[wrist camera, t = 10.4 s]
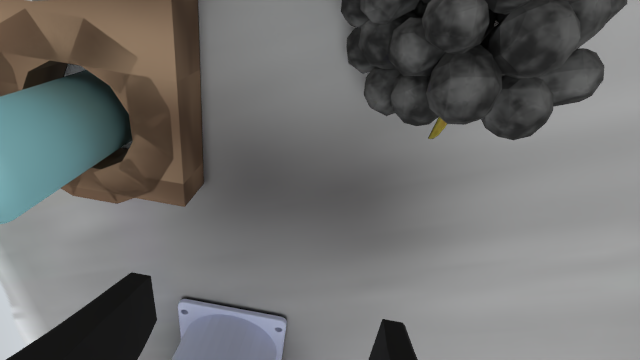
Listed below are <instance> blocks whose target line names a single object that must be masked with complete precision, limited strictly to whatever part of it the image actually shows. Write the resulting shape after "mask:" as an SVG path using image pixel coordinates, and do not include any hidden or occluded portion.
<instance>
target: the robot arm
mask: <svg viewBox="0 0 640 360" xmlns="http://www.w3.org/2000/svg"><path fill="white" fill-rule="evenodd" d="M178 314H179V324H180V335H181V342H180V344H179V346H178V347H177V349H176V351H175V353H174V355H173V357H172V359H171V360H282V354H283V347H284V340H285V332H286V325H287V321H286V319H285V318H283V317H280V316H275V315H270V314H264V313H259V312H254V311H248V310H243V309H238V308H232V307H227V306H222V305H216V304H211V303H205V302H200V301H195V300H189V299H181V300H180V302H179V303H178ZM156 321H157V317H156V310H155V303H154V296H153V289H152V282H151V276H148V275H142V274H137V273H130V274H129V275H127V276H126V277H124V278H123V279H122V280H120V281H119V282H117V283H116V284H115V285H113V286H112V287H111V288H109V289H108V290H107V291H105V292H104V293H102V294H101V295H100V296H98V297H97V298H96V299H94V300H93V301H92V302H90V303H89V304H87V305H86V306H85V307H83V308H82V309H80V310H79V311H78V312H76V313H75V314H73V315H72V316H71V317H69V318H68V319H66V320H65V321H63V322H62V323H61V324H59V325H58V326H56V327H55V328H53V329H52V330H51V331H49V332H48V333H46V334H45V335H43V336H42V337H40V338H39V339H37V340H36V341H34V342H32V343H31V344H29V345H28V346H26V347H25V348H23V349H22V350H20V351H19V352H17V353H16V354H14V355H13V356H11V357H9V358H8V359H6V360H137V359H138V357H139V356H140V354H141V352H142V350H143V348H144V346H145V344H146V342H147V340H148V338H149V336H150V334H151V332H152V330H153V327H154V325H155V323H156ZM369 360H418V359H417V357H416V354H415V352H414V349H413V347H412V344H411V341H410V339H409V336H408V333H407V330H406V327H405V325H404V324H403V323H401V322H395V321H390V320H385V319H382V322H381V325H380V328H379V331H378V334H377V337H376V340H375V343H374V345H373V348H372V351H371V354H370V357H369Z"/></svg>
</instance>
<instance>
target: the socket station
mask: <svg viewBox="0 0 640 360" xmlns="http://www.w3.org/2000/svg"><path fill="white" fill-rule="evenodd" d="M67 64H74V65H80V66H82V67H83V68H85V69H86V70H88V71H89V72H91V73H92V74H93V75H95V76H96V77H98V78H99V79H101V80H102V81H104V82H105V83H106V84H108V85H109V86H110V87H111V88H112V90H113V91H114V93H115V94H116V96H117V97H118V99H119V100H120V102H121V103H122V105H123V106H124V108H125V109H126V111H127V112H128V114H129V120H130V127H131V134H132V141H133V142H132V144H131V146H130V148H129V149H124V148H119V149H118V150H116V151H115V152H113V153H112V154H110V155H109V156H107V157H106V158H104V159H103V160H102V161H100V162H99V163H97V164H96V165H94V166H93V167H91V168H90V169H88V170H87V171H85V172H84V173H82V174H81V175H79V176H78V177H76V178H75V179H73V180H72V181H70V182H69V183H67V184H66V185H64V186H63V187H61V189H63V190H65V191H66V192H68V193H69V194H71V195H73V196H78V197H83V198H89V199H94V200H100V201H106V202H111V203H117V204H118V203H121V202H124V201H126V200H129V199H132V198H139V199H145V200H150V201H156V202H161V203H167V204H172V205H178V206H183V207H185V206H186V205H187V203H188V202H189V201H190V200H191V199H192V197H193V196H194V195H195V194H196V192H197V191H198V190H199V189H200V187H201V186H202V185H203V184H204V177H203V146H202V115H201V84H200V52H199V21H198V0H0V97H1V96H4V95H7V94H10V93H14V92H17V91H20V90H23V89H27V88H30V87H33V86H36V85H40V84H43V83H46V82H49V81H52V80H56V79H59V78H62V77H63V75H64V72H65V70H66V67H67Z"/></svg>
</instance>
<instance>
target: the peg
mask: <svg viewBox="0 0 640 360" xmlns="http://www.w3.org/2000/svg"><path fill="white" fill-rule="evenodd" d="M131 140H132V134H131V127H130V120H129V114H128V112H127V111H126V109H125V108H124V106H123V105H122V103H121V102H120V100H119V99H118V97H117V96H116V94H115V93H114V91H113V90H112V88H111V87H110V86H109V85H108V84H106V83H105V82H104V81H102V80H101V79H99V78H98V77H96V76H95V75H93V74H92V73H91V72H89V71H88V70H85V71H81V72H78V73H75V74H72V75H69V76H65V77H62V78H59V79H56V80H52V81H49V82H46V83H43V84H40V85H36V86H33V87H30V88H27V89H23V90H20V91H17V92H14V93H10V94H7V95H4V96H1V97H0V224H3V223H7V222H10V221H12V220H14V219H15V218H17V217H18V216H20V215H21V214H23V213H24V212H26V211H27V210H29V209H30V208H32V207H33V206H35V205H36V204H38V203H39V202H41V201H42V200H44V199H45V198H47V197H48V196H50V195H51V194H53V193H54V192H56V191H57V190H59V189H60V188H61V187H63V186H64V185H66V184H67V183H69V182H70V181H72V180H73V179H75V178H76V177H78V176H79V175H81V174H82V173H84V172H85V171H87V170H88V169H90V168H91V167H93V166H94V165H96V164H97V163H99V162H100V161H102V160H103V159H104V158H106V157H107V156H109V155H110V154H112V153H113V152H115V151H116V150H118V149H119V148H121V147H122V146H124V145H125V144H127V143H128V142H130V141H131Z"/></svg>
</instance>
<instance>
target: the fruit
mask: <svg viewBox="0 0 640 360" xmlns="http://www.w3.org/2000/svg"><path fill="white" fill-rule="evenodd" d="M626 4H627V0H342V7H341V12H342V14H343V16H344V17H345V19H346V20H347V21H348V23H349V24H350V25H352V26H354V27H357V28H355V29H354V30H353V31H352V33H351V34H350V35H349V36H348V38H347V54H348V62H349V64H351V65H352V66H353V67H355V68H356V69H357V70H359V71H360V72H361V73H367V72H370V73H369V75H368V76H367V77H366V82H365V90H364V96H365V98H366V100H367V102H368V104H369V106H370V107H371V108H372V109H374V110H376V111H378V112H380V113H382V114H384V115H386V116H388V115H390V114H393V113H396V114H397V115H398V116H399V117H400V119H401V120H402V121H403V122H404V123H407V124H411V125H415V126H420V125H427V124H430V123H431V122H433V121H434V120H435V119H436V118H438V117H439V118H438V120H437V122H436V124H435V126H434V127H433V129H432V131H431V133H430V135H429V137H428V138H429V139H433V138H435V137H436V136H438V135H439V134H440V133H441V131H442V130H443V129H444V128H445V126H446V125H447V124H467V123H470V122H473V121H476V120H479V119H481V120H482V122H483V124H484V126H485V128H486V129H488V130H489V131H491V132H492V133H493V134H495V135H496V136H498V137H503V138H507V139H511V140H515V139H520V138H524V137H529V136H531V135H532V134H533V133H535V132H536V131H537V130H538V129H539V128H541V127H542V126H543V125H544V124H545V123H546V122H547V120H548V118H549V117H550V115H551V113H552V111H553V106H558V105H564V104H570V103H575V102H580V101H582V100H584V99H586V98H588V97H590V96H592V94H593V93H594V92H595V90H596V89H597V88H598V86H599V85H600V83H601V82H602V81H603V76H604V65H603V63H602V61H601V60H600V58H599V56H598V55H597V53H595V52H593V51H590V50H588V49H578V48H579V47H580V46H581V45H583V44H584V43H585V42H587V41H588V40H589V39H590V38H592V37H593V36H594V35H595V34H597V33H598V32H599V31H600V30H601V29H602V28H603V27H604V25H605V24H606V23H607V22H608V21H609V20H610V19H611V18H612V17H613V16H614V15H616V14H617V13H618V12H619V11H620V10H621V9H622V8H623V7H624V6H625V5H626ZM495 20H497V21H498V22H499V24H498V25H497V26H496V27H495V26H493V25H494V23H495Z"/></svg>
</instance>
